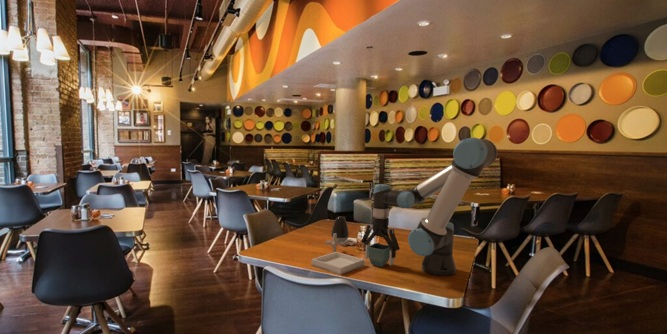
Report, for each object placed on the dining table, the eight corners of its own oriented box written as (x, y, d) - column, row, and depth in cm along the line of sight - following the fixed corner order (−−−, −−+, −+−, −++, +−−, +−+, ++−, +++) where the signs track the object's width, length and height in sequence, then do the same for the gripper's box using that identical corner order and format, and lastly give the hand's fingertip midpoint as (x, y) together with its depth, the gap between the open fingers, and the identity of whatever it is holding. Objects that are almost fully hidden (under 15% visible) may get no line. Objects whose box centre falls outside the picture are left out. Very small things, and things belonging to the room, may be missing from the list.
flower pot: (383, 269, 167) (384, 250, 167) (366, 265, 172) (367, 246, 171) (391, 264, 175) (392, 245, 174) (374, 260, 179) (375, 242, 179)
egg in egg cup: (351, 241, 215) (352, 216, 214) (342, 245, 206) (343, 218, 206) (337, 238, 221) (338, 213, 220) (327, 242, 212) (328, 216, 211)
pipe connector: (342, 256, 185) (342, 236, 185) (323, 254, 187) (323, 235, 187) (345, 250, 195) (345, 232, 195) (327, 249, 197) (327, 230, 197)
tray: (364, 265, 171) (364, 259, 171) (340, 274, 158) (340, 268, 158) (335, 257, 183) (336, 251, 182) (311, 265, 169) (311, 259, 169)
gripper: (408, 219, 167) (406, 265, 168) (364, 212, 183) (362, 253, 184) (399, 222, 161) (397, 269, 162) (355, 214, 177) (353, 256, 178)
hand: (379, 261), depth 173 cm, fingers open, 13 cm apart
